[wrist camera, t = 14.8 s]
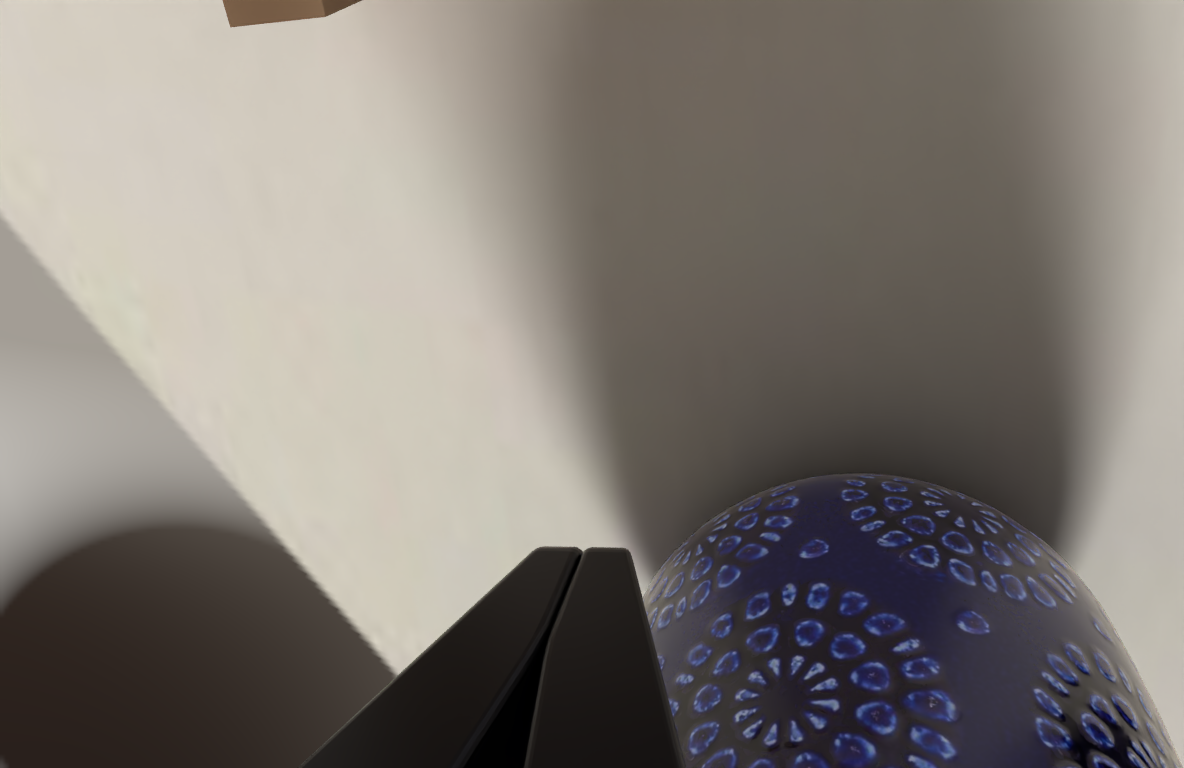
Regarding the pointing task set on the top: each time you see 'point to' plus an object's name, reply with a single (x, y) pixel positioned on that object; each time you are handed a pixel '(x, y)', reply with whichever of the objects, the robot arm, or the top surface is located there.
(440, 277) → the top surface
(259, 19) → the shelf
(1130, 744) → the planter
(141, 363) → the top surface
